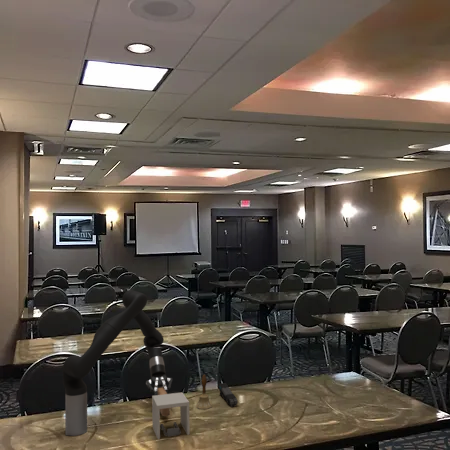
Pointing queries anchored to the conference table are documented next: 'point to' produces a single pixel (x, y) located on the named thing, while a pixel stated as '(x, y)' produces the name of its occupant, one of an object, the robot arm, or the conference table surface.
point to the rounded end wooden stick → (166, 410)
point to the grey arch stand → (170, 402)
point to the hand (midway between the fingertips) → (161, 398)
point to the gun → (227, 394)
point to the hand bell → (204, 396)
